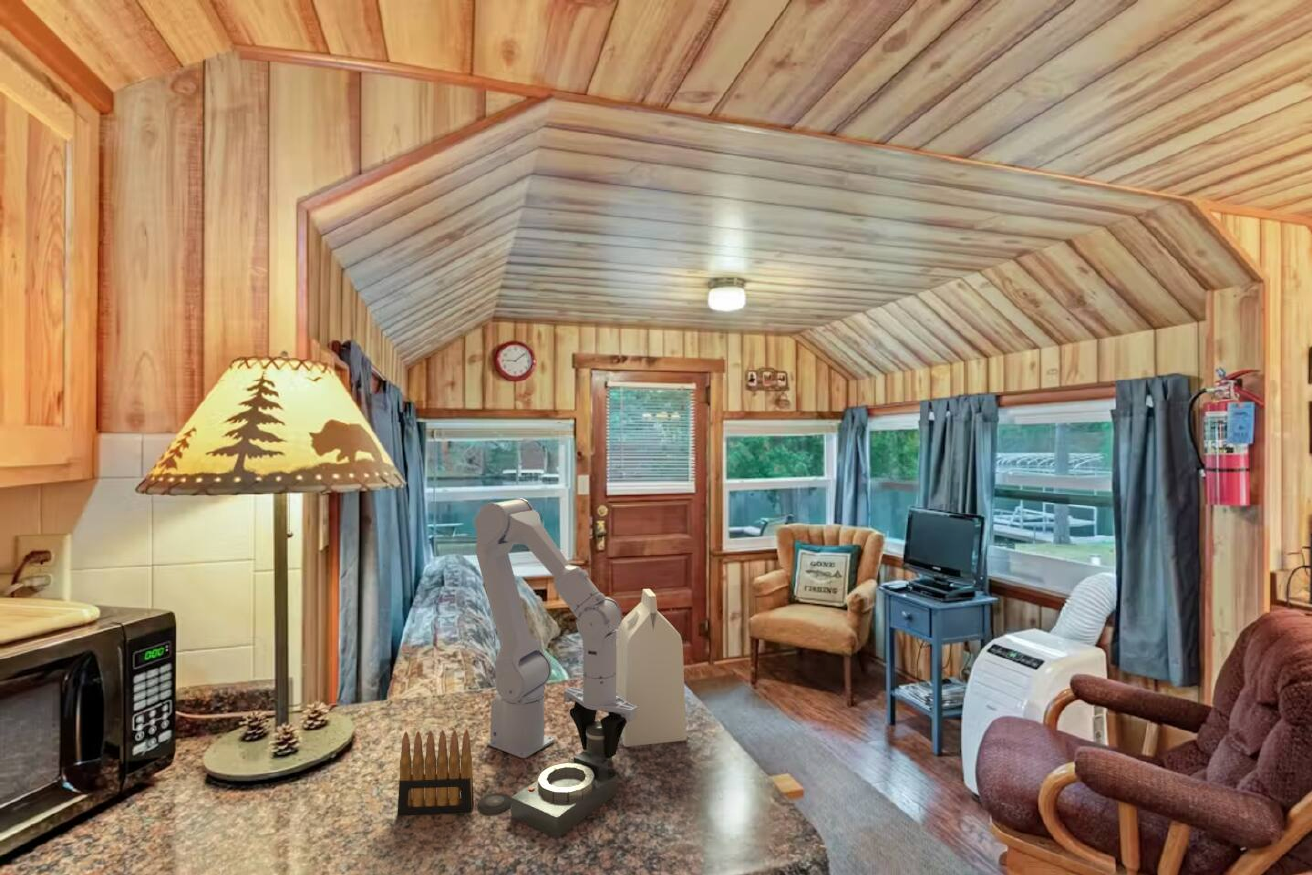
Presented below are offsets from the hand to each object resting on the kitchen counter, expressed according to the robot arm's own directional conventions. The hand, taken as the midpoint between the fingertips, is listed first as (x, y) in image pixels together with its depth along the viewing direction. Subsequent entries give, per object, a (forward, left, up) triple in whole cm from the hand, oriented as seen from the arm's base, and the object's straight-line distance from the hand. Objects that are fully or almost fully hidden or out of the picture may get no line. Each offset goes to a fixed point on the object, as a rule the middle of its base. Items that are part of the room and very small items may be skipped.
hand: (599, 751), depth 112 cm
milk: (0, +15, -2) cm, 15 cm away
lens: (0, 0, -2) cm, 2 cm away
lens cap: (-5, -19, -2) cm, 20 cm away
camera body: (+4, -13, -2) cm, 14 cm away
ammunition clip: (-11, -25, -2) cm, 27 cm away
